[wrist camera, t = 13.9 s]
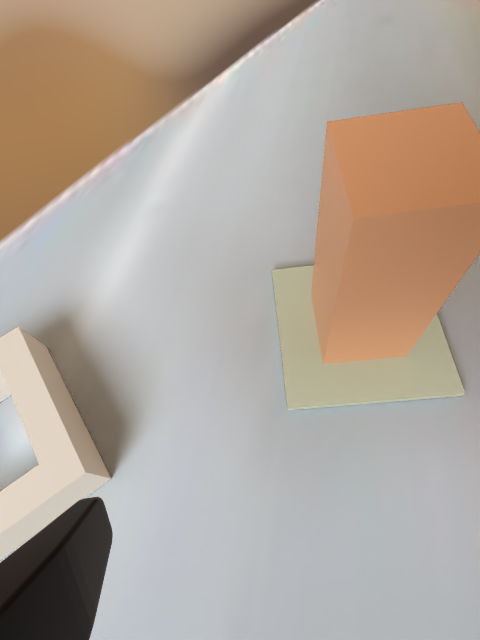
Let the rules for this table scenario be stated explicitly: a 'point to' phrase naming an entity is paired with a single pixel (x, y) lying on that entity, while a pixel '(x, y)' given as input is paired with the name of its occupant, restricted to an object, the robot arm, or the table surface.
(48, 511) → the cream square frame
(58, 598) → the robot arm
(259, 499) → the table surface
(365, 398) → the mat
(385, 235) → the plug
